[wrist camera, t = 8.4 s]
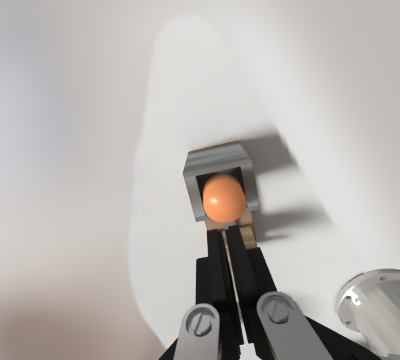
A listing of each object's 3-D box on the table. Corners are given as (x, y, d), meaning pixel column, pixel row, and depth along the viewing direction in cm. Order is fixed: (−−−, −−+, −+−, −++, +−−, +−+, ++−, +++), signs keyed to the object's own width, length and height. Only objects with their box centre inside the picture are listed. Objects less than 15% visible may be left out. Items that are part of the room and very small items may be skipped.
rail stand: (255, 243, 31) (271, 290, 23) (213, 251, 31) (217, 298, 24) (237, 141, 26) (251, 158, 18) (188, 152, 26) (182, 173, 19)
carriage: (253, 245, 28) (271, 298, 21) (215, 252, 29) (220, 306, 21) (250, 226, 27) (267, 274, 20) (211, 233, 28) (214, 283, 20)
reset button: (243, 203, 20) (249, 218, 17) (207, 210, 20) (208, 226, 18) (237, 169, 19) (242, 180, 16) (199, 177, 19) (198, 189, 17)
